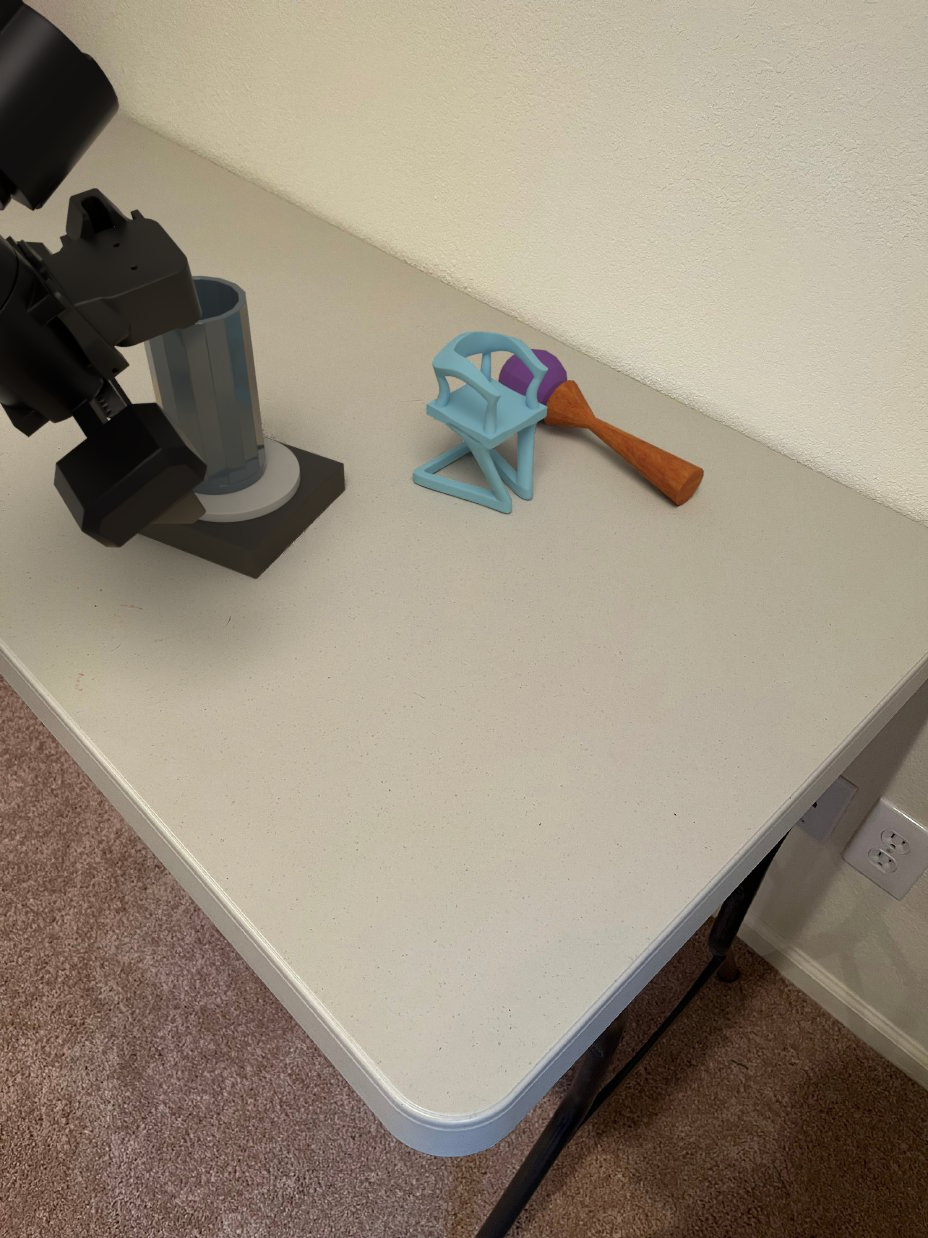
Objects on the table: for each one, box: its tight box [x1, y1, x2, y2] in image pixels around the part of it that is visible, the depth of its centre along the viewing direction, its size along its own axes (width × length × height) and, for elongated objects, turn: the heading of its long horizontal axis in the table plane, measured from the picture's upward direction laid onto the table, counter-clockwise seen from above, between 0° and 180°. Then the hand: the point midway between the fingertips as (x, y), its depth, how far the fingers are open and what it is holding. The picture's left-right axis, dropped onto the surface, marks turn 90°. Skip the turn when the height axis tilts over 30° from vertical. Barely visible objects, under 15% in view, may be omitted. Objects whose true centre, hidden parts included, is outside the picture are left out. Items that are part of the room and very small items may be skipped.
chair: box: [412, 330, 548, 514], centre depth 69 cm, size 8×8×12 cm
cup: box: [143, 275, 267, 495], centre depth 63 cm, size 7×7×13 cm
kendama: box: [497, 348, 705, 506], centre depth 76 cm, size 6×6×20 cm
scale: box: [138, 436, 346, 579], centre depth 68 cm, size 14×12×3 cm
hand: (163, 464), depth 54 cm, fingers open, 9 cm apart
